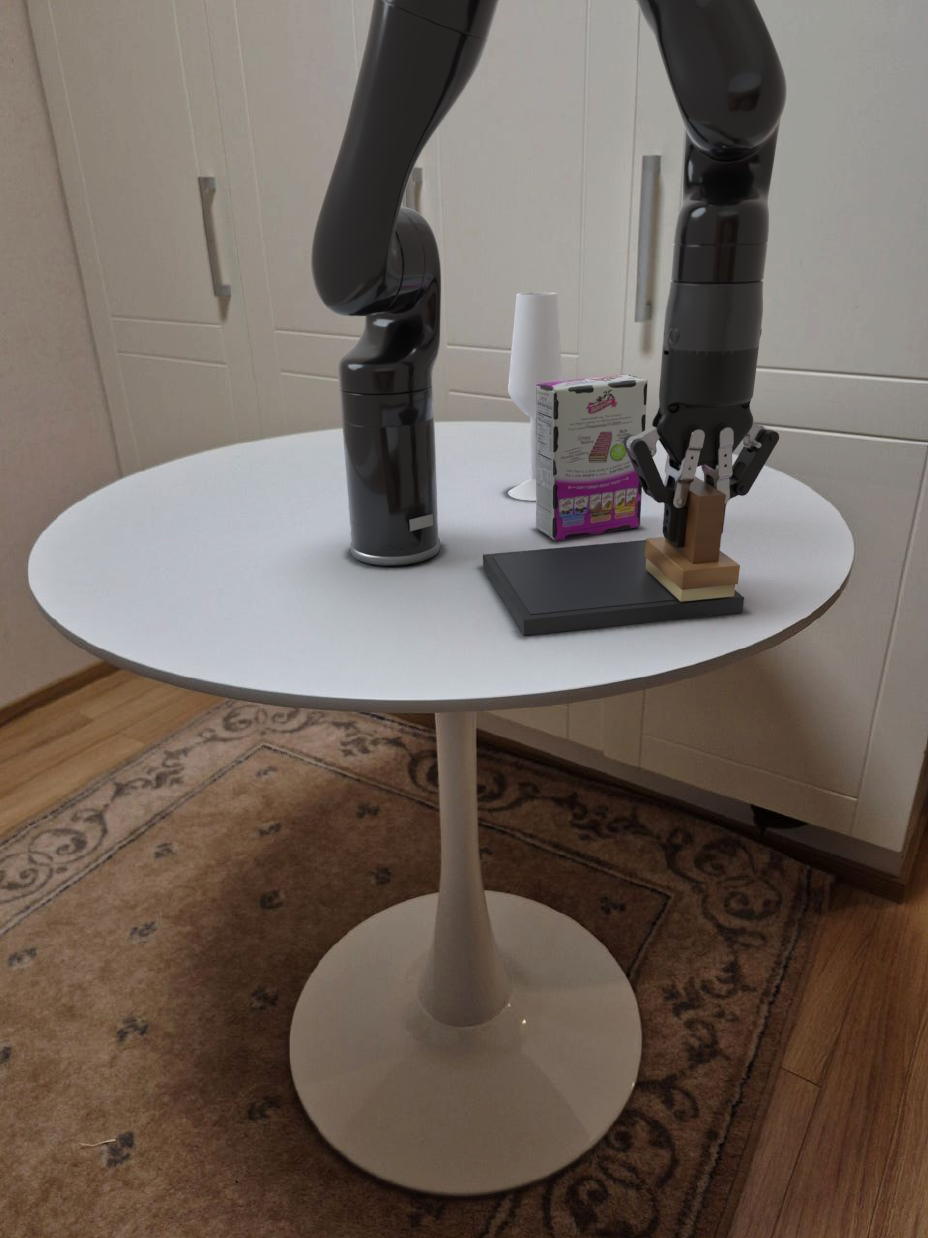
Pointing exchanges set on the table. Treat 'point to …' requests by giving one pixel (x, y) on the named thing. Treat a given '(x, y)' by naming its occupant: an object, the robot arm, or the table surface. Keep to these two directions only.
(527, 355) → the champagne flute
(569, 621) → the panel
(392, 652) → the table surface
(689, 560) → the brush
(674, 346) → the robot arm
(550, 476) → the candy bar box
